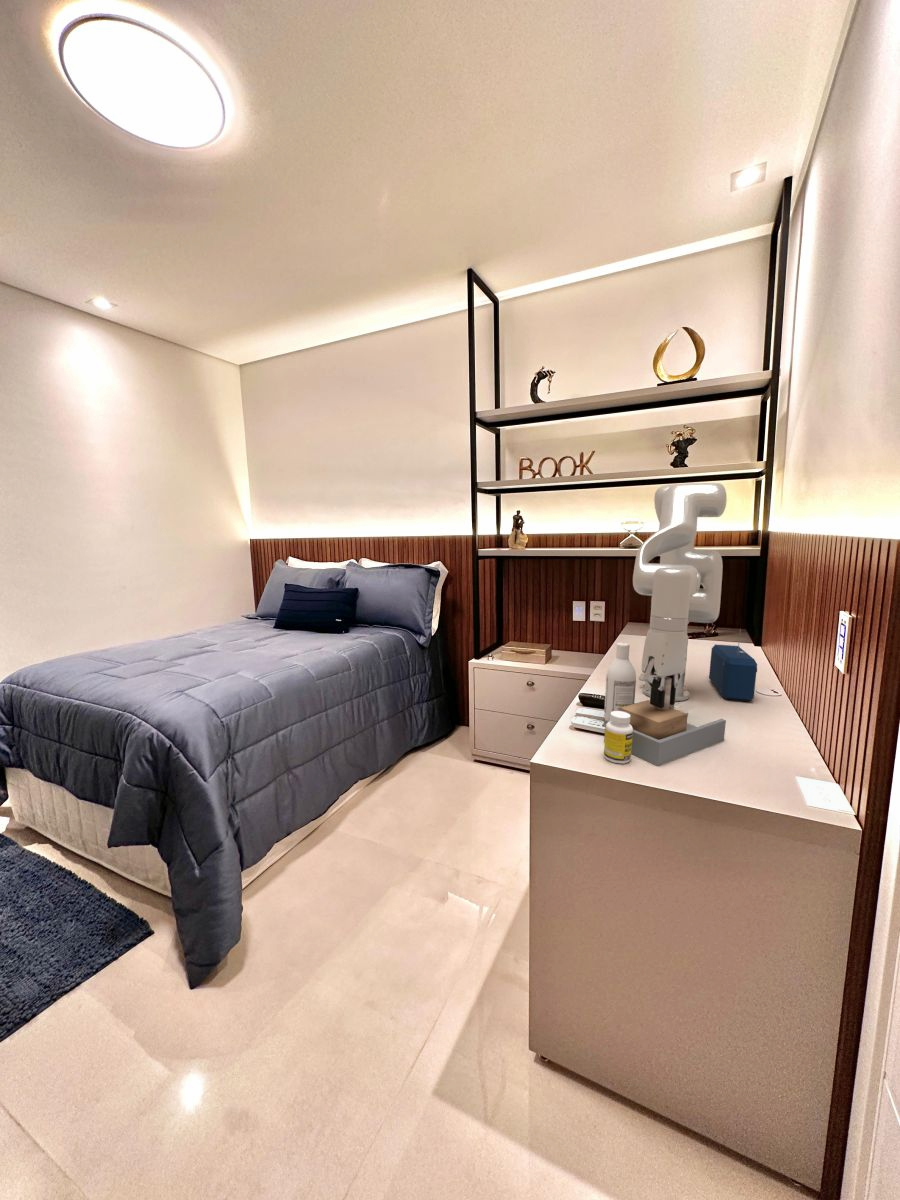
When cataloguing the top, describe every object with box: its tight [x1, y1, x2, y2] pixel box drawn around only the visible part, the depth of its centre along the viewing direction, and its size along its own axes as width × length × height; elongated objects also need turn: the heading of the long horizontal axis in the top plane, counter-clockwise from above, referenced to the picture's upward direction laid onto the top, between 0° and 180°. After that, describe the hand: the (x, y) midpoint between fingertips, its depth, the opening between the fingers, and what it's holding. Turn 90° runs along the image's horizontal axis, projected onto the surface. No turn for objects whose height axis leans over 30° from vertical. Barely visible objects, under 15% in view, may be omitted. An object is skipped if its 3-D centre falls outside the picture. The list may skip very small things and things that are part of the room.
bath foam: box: [603, 642, 637, 720], centre depth 124 cm, size 7×7×20 cm
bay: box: [603, 704, 727, 767], centre depth 115 cm, size 14×24×5 cm, turn 122°
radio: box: [708, 628, 758, 702], centre depth 149 cm, size 21×9×20 cm, turn 164°
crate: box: [620, 677, 689, 740], centre depth 111 cm, size 10×10×14 cm
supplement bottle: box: [603, 711, 633, 764], centre depth 105 cm, size 5×5×10 cm
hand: (662, 703), depth 113 cm, fingers closed on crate, 3 cm apart
